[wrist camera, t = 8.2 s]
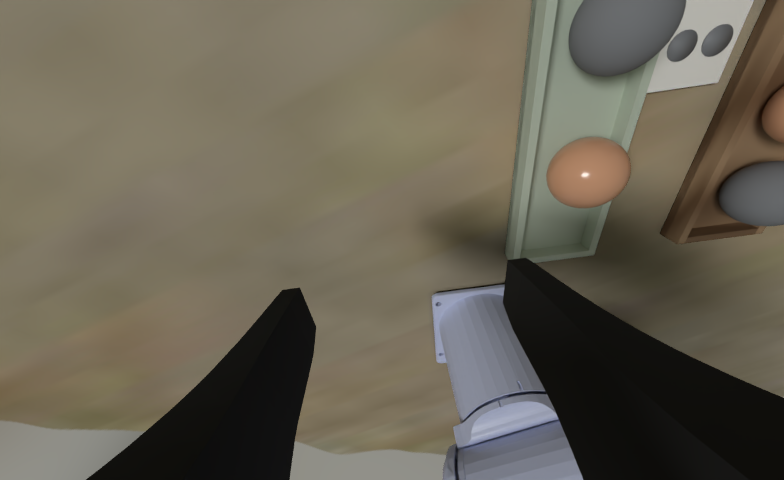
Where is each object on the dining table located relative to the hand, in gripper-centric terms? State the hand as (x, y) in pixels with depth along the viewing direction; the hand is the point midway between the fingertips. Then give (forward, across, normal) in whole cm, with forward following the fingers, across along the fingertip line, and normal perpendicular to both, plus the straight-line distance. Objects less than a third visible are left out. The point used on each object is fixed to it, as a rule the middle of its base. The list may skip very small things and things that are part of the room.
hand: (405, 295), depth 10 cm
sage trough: (+10, -14, -2) cm, 17 cm away
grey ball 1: (+8, -11, -7) cm, 15 cm away
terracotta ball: (+8, -11, 0) cm, 14 cm away
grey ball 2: (+8, -23, +3) cm, 25 cm away
